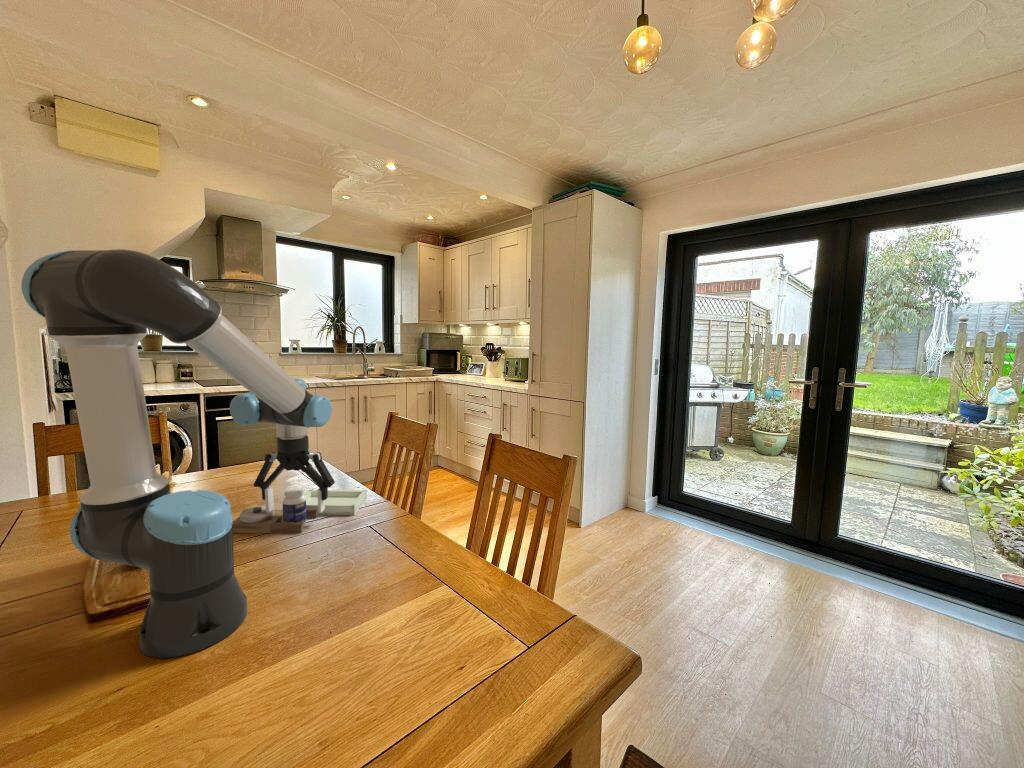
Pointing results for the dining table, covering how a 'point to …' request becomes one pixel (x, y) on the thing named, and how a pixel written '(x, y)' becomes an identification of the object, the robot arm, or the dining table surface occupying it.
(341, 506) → the tray
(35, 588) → the dining table surface
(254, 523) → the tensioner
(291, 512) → the pill bottle
